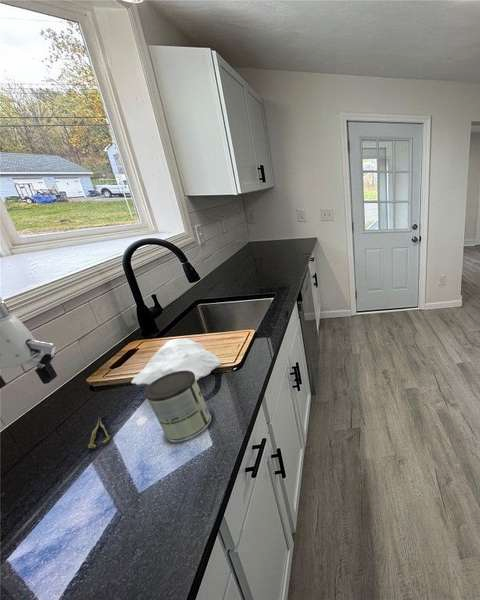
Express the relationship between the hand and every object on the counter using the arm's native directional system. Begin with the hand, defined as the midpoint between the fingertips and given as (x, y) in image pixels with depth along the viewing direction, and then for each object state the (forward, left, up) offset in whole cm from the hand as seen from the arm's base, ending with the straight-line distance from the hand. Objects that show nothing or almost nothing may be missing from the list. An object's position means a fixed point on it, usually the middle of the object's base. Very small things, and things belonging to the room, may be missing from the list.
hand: (25, 384), depth 70 cm
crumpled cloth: (+23, +20, -20) cm, 36 cm away
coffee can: (+27, -9, -20) cm, 34 cm away
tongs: (+6, +2, -20) cm, 21 cm away
